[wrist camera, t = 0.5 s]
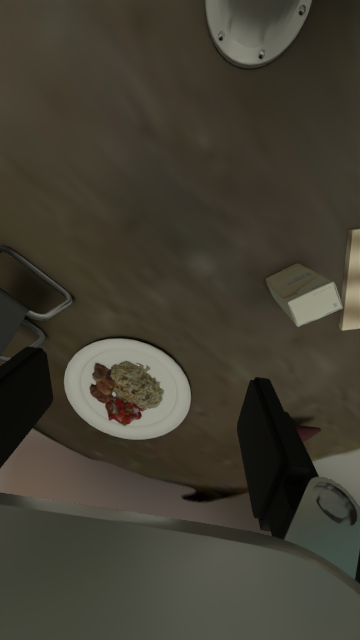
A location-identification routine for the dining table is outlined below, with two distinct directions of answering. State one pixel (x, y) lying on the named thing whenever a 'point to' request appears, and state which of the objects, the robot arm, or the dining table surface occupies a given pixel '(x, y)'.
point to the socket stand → (351, 284)
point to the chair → (24, 308)
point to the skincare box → (304, 294)
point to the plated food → (127, 388)
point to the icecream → (306, 432)
